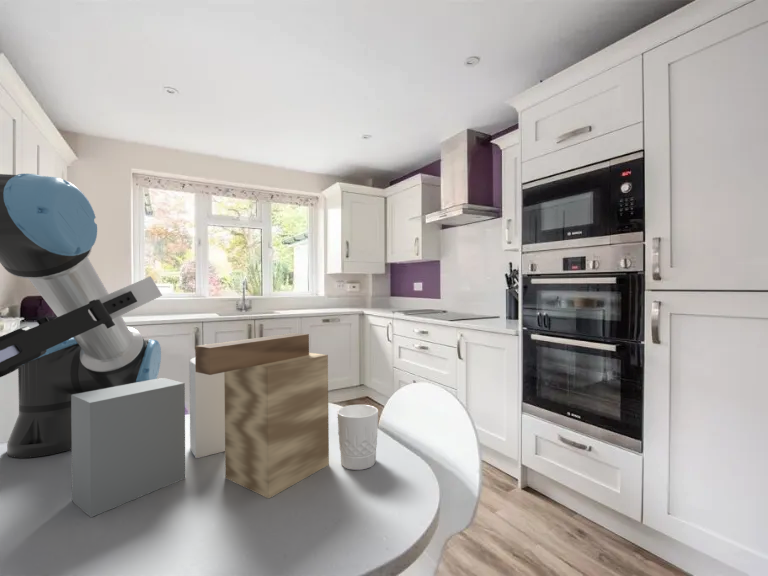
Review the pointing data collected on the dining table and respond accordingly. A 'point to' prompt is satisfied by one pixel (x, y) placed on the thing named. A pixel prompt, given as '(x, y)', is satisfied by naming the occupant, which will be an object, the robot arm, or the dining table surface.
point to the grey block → (126, 442)
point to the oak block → (276, 423)
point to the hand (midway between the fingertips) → (130, 296)
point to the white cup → (358, 436)
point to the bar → (249, 352)
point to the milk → (206, 412)
